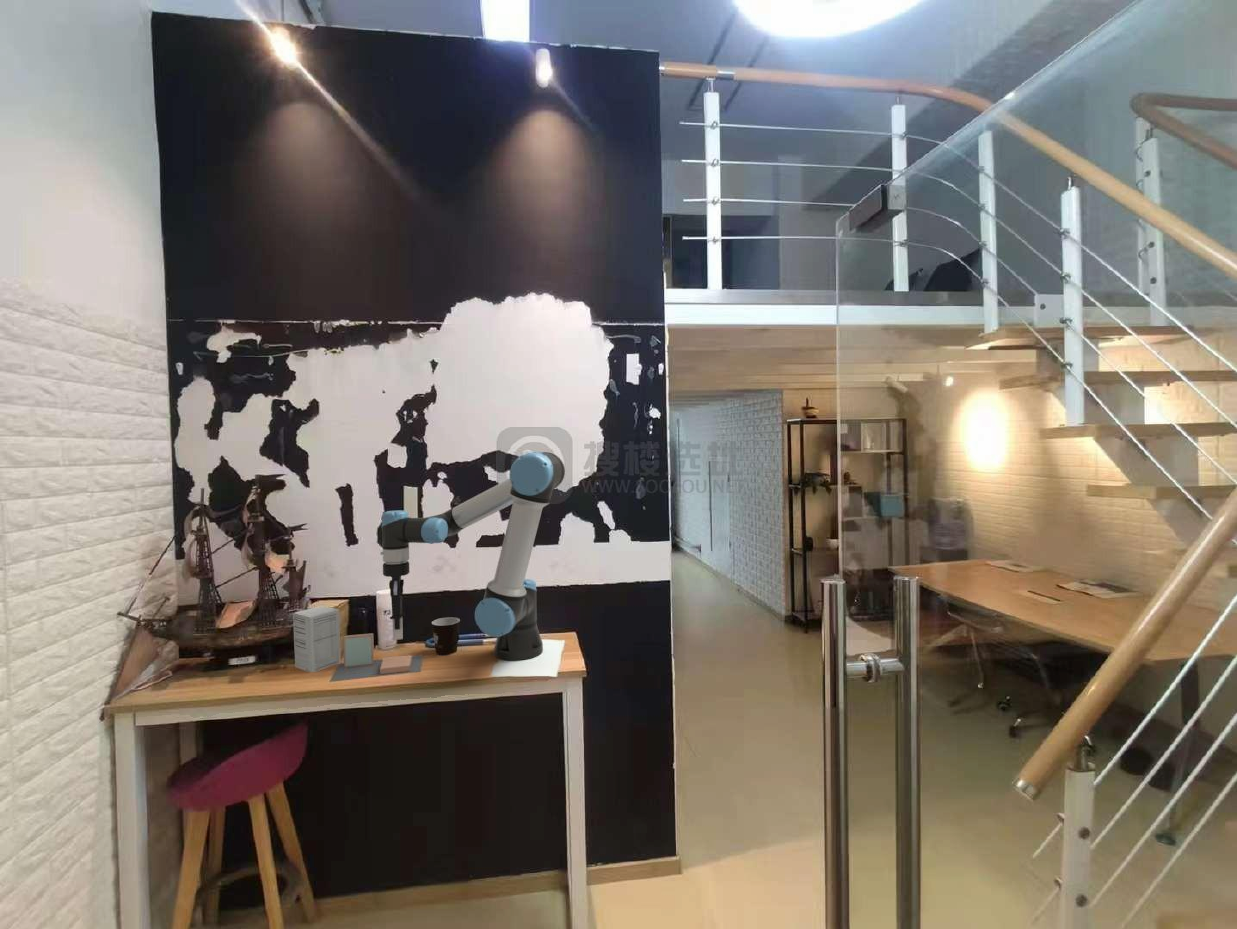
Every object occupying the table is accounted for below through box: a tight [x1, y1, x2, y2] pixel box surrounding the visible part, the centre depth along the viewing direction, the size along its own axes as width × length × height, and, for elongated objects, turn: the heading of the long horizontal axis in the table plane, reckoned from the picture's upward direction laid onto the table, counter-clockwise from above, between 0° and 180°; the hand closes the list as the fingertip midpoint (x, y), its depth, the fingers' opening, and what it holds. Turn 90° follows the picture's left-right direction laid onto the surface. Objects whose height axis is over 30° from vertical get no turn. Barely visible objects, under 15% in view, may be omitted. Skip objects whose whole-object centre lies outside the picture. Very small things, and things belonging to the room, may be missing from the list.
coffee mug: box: [431, 616, 461, 656], centre depth 184 cm, size 12×9×10 cm
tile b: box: [343, 632, 375, 668], centre depth 175 cm, size 8×2×9 cm, turn 105°
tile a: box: [380, 654, 413, 674], centre depth 173 cm, size 8×2×9 cm
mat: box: [329, 654, 424, 682], centre depth 173 cm, size 24×14×1 cm, turn 105°
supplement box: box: [292, 605, 342, 674], centre depth 175 cm, size 10×9×17 cm
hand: (397, 638), depth 179 cm, fingers closed
